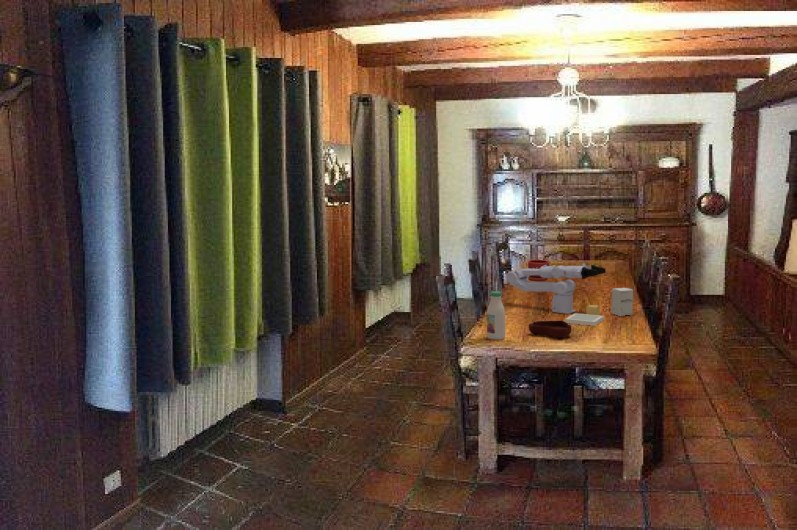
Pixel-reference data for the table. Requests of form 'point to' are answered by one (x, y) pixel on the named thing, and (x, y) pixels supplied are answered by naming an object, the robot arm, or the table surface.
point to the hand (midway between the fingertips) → (601, 271)
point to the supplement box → (622, 301)
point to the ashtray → (550, 328)
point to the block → (593, 310)
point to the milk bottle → (495, 317)
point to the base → (584, 319)
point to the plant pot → (537, 264)
